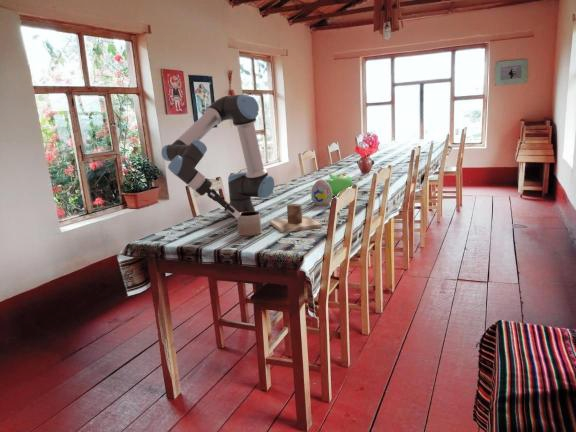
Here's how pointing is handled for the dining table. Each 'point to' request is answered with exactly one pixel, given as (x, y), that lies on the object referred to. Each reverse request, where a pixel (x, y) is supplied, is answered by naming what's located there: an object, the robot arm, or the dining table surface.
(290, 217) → the square base plate
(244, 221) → the planter
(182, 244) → the dining table surface
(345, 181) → the toy bird
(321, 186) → the decorative egg
